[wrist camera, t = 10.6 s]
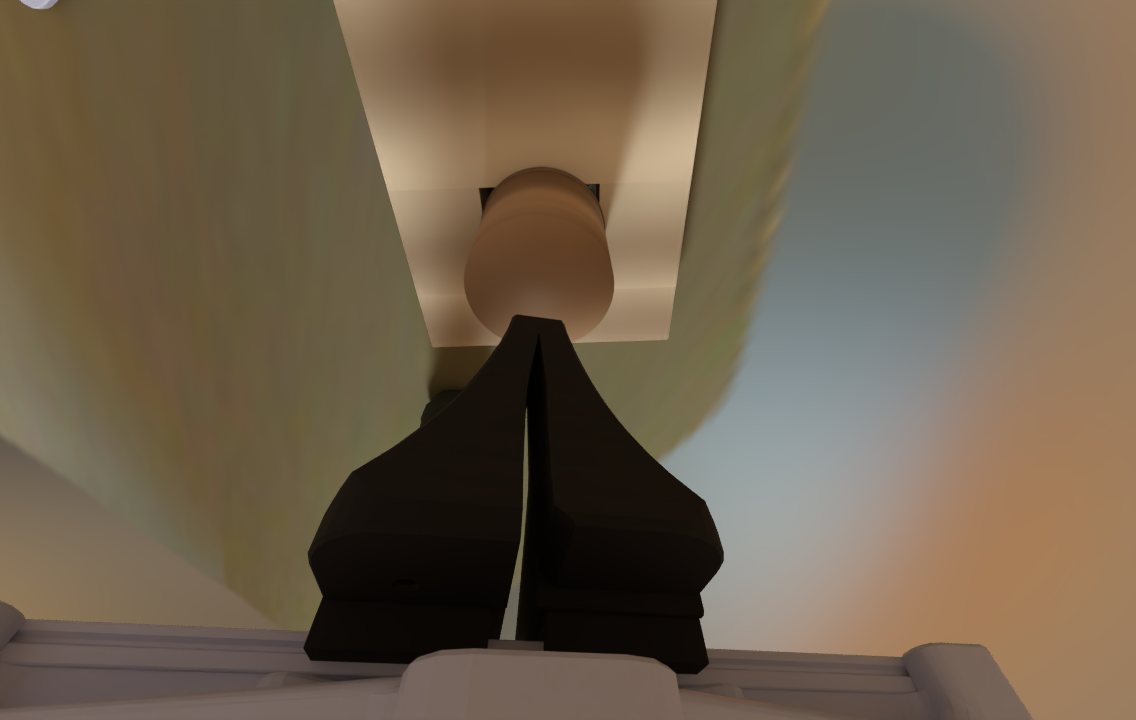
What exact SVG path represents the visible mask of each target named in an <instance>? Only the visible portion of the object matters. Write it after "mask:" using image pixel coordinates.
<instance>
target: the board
mask: <svg viewBox="0 0 1136 720" xmlns="http://www.w3.org/2000/svg"><path fill="white" fill-rule="evenodd" d="M333 1H334V4H335V8H336V11H337V15H338V18H339V22H340V25H341V29H342V32H343V36H344V39H345V43H346V46H347V50H348V53H349V57H350V60H351V64H352V67H353V71H354V74H355V78H356V81H357V85H358V88H359V92H360V95H361V99H362V102H363V106H364V109H365V113H366V116H367V120H368V123H369V127H370V130H371V134H372V137H373V141H374V144H375V148H376V151H377V155H378V158H379V162H380V165H381V169H382V172H383V176H384V179H385V183H386V186H387V190H388V193H389V197H390V200H391V204H392V207H393V211H394V214H395V218H396V221H397V225H398V228H399V232H400V235H401V239H402V242H403V246H404V249H405V253H406V256H407V260H408V263H409V267H410V270H411V274H412V277H413V281H414V284H415V288H416V291H417V295H418V298H419V302H420V305H421V309H422V312H423V316H424V319H425V323H426V326H427V330H428V333H429V337H430V340H431V344H432V347H458V346H488V345H498V344H499V343H500V341H501V339H502V338H500V337H498V336H497V335H495V334H494V333H492V332H491V331H490V330H488V329H487V328H486V327H485V326H484V325H483V324H482V323H481V322H480V321H479V320H478V318H477V317H476V316H475V314H474V313H473V311H472V309H471V307H470V305H469V303H468V300H467V298H466V294H465V289H464V271H465V267H466V263H467V260H468V257H469V254H470V251H471V248H472V245H473V242H474V239H475V237H476V234H477V231H478V228H479V225H480V222H481V217H482V213H483V209H484V206H485V204H486V202H487V199H488V197H489V196H490V194H491V192H492V187H496V186H497V185H498V184H499V183H500V182H501V181H503V180H504V179H505V178H507V177H508V176H510V175H511V174H514V173H516V172H518V171H521V170H524V169H527V168H533V167H550V168H555V169H559V170H562V171H565V172H568V173H570V174H572V175H573V176H575V177H577V178H578V179H580V180H581V181H582V182H584V183H585V184H594V195H595V197H596V198H597V200H598V202H599V204H600V206H601V209H602V212H603V216H604V221H605V233H606V238H607V243H608V249H609V254H610V259H611V264H612V269H613V274H614V294H613V299H612V302H611V305H610V308H609V310H608V311H607V313H606V315H605V317H604V318H603V319H602V321H601V322H600V323H599V324H598V325H597V326H596V328H594V329H593V330H592V331H591V332H590V333H588V334H587V335H585V336H584V337H582V338H580V339H578V340H576V341H574V342H572V343H581V342H612V341H643V340H668V336H669V329H670V323H671V316H672V309H673V302H674V295H675V288H676V281H677V274H678V267H679V261H680V254H681V247H682V240H683V233H684V226H685V219H686V212H687V205H688V199H689V192H690V185H691V178H692V171H693V164H694V157H695V150H696V143H697V136H698V130H699V123H700V116H701V109H702V102H703V95H704V88H705V81H706V74H707V68H708V61H709V54H710V47H711V40H712V33H713V26H714V19H715V12H716V5H717V0H333Z"/></svg>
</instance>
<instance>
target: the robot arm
mask: <svg viewBox="0 0 1136 720" xmlns="http://www.w3.org/2000/svg"><path fill="white" fill-rule="evenodd" d="M20 1H22V2H23V3H24V4H25V5H27V6H29V7H31V8H36V9H48V8H50V7H52V6H53V5H54V4H55V3H56V2H57V1H58V0H20ZM526 408H527V427H528V497H527V510H526V523H525V535H524V547H523V559H522V570H521V582H520V593H519V604H518V615H517V626H516V636H515V640H499V639H500V634H501V629H502V624H503V618H504V614H505V608H507V603H508V598H509V594H510V589H511V584H512V579H513V574H514V569H515V564H516V559H517V554H518V550H519V545H520V538H521V526H522V511H523V461H524V434H525V414H526ZM308 560H309V564H310V567H311V569H312V572H313V574H314V576H315V579H316V581H317V584H318V586H319V588H320V591H321V593H322V595H323V598H322V601H321V603H320V606H319V608H318V611H317V613H316V616H315V618H314V621H313V624H312V626H311V629H310V631H289V630H265V629H241V628H218V627H196V626H172V625H150V624H127V623H103V622H79V621H58V620H35V619H25V617H24V615H23V614H22V613H21V612H20V611H18V610H17V609H16V608H14V607H13V606H11V605H9V604H7V603H5V602H2V601H0V720H1033V718H1032V716H1031V715H1030V713H1029V712H1028V710H1027V709H1026V707H1025V706H1024V704H1023V703H1022V701H1021V700H1020V698H1019V697H1018V695H1017V694H1016V692H1015V691H1014V689H1013V687H1012V686H1011V684H1010V683H1009V681H1008V680H1007V678H1006V677H1005V675H1004V674H1003V672H1002V671H1001V669H1000V668H999V666H998V665H997V663H996V662H995V660H994V658H993V657H992V655H991V654H990V652H989V651H988V650H987V648H986V647H984V646H982V645H979V644H978V645H977V644H959V643H928V644H924V645H920V646H917V647H915V648H913V649H911V650H909V651H908V652H906V653H904V654H903V656H902V657H887V656H863V655H841V654H818V653H794V652H772V651H771V652H770V651H749V650H725V649H706V647H705V642H704V638H703V633H702V629H701V625H700V620H699V618H702V617H703V616H704V609H703V604H702V600H701V596H700V592H701V591H702V590H703V589H704V588H705V586H706V585H707V584H708V583H709V581H710V580H711V579H712V578H713V577H714V575H715V574H716V573H717V571H718V570H719V569H720V567H721V565H722V563H723V561H724V551H723V548H722V545H721V541H720V538H719V534H718V531H717V529H716V526H715V523H714V521H713V519H712V516H711V514H710V512H709V509H708V507H707V505H706V502H705V501H704V500H703V499H702V498H700V497H699V496H698V495H697V494H696V493H694V492H693V491H691V490H690V489H689V488H688V487H687V486H685V485H684V484H683V483H682V482H680V481H679V480H678V479H676V478H675V477H674V476H673V475H672V474H670V473H669V472H668V471H667V470H666V469H665V468H664V467H663V466H662V465H660V464H659V463H658V462H657V461H656V460H655V459H654V458H653V457H652V456H651V455H650V454H649V453H648V452H647V451H646V450H645V449H644V448H643V447H642V446H641V445H640V444H639V443H638V442H637V441H636V440H635V439H634V438H633V437H632V436H631V435H630V434H629V432H628V431H627V430H626V429H625V428H624V427H623V425H622V424H621V423H620V422H619V421H618V419H617V418H616V417H615V415H614V414H613V413H612V411H611V410H610V409H609V408H608V406H607V405H606V403H605V402H604V400H603V399H602V397H601V396H600V394H599V393H598V391H597V390H596V388H595V387H594V385H593V383H592V382H591V380H590V378H589V377H588V375H587V373H586V371H585V369H584V367H583V366H582V364H581V362H580V360H579V358H578V356H577V354H576V352H575V350H574V347H573V345H572V343H571V341H570V338H569V336H568V333H567V330H566V328H565V324H564V323H563V322H562V320H556V319H549V318H541V317H534V316H526V315H519V314H516V315H515V316H513V317H512V319H511V322H510V324H509V327H508V329H507V331H506V333H505V334H504V336H503V338H502V339H501V341H500V343H499V344H498V346H497V347H496V349H495V350H494V352H493V353H492V355H491V356H490V358H489V359H488V360H487V362H486V363H485V364H484V365H483V367H482V368H481V369H480V370H479V371H478V373H477V374H476V375H475V376H474V378H473V379H472V380H471V381H470V382H469V383H468V384H467V386H466V387H465V388H464V389H463V390H462V391H461V392H460V393H459V394H458V395H457V396H456V397H455V398H454V399H453V400H452V401H451V402H450V403H448V404H447V405H446V406H445V407H444V408H443V409H442V410H441V411H440V412H438V413H437V414H436V415H435V416H434V417H433V418H431V419H430V420H429V421H428V422H427V423H425V424H424V425H423V426H421V427H420V428H419V429H417V430H416V431H415V432H413V433H412V434H410V435H409V436H408V437H406V438H405V439H404V440H402V441H401V442H400V443H398V444H397V445H395V446H394V447H392V448H391V449H389V450H388V451H386V452H384V453H383V454H381V455H379V456H378V457H376V458H374V459H373V460H371V461H370V462H368V463H366V464H365V465H363V466H361V467H360V468H358V469H356V470H355V471H353V472H352V473H351V474H350V475H349V477H348V478H347V480H346V481H345V482H344V484H343V485H342V487H341V488H340V490H339V491H338V493H337V495H336V496H335V498H334V499H333V501H332V503H331V504H330V506H329V508H328V509H327V511H326V513H325V515H324V517H323V519H322V521H321V523H320V526H319V528H318V530H317V533H316V535H315V537H314V540H313V542H312V544H311V546H310V549H309V551H308Z"/></svg>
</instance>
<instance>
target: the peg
mask: <svg viewBox="0 0 1136 720" xmlns="http://www.w3.org/2000/svg"><path fill="white" fill-rule="evenodd" d="M464 289H465V294H466V298H467V300H468V303H469V305H470V307H471V309H472V311H473V313H474V314H475V316H476V317H477V318H478V320H479V321H480V322H481V323H482V324H483V325H484V326H485V327H486V328H487V329H488V330H490V331H491V332H492V333H494V334H495V335H497V336H498V337H500V338H503V336H504V334H505V333H506V331H507V329H508V327H509V324H510V322H511V319H512V317H513V316H515V315H516V314H519V315H526V316H534V317H541V318H549V319H556V320H562V322H563V323H564V324H565V328H566V330H567V333H568V336H569V338H570V341H571V343H572V342H574V341H576V340H578V339H580V338H582V337H584V336H585V335H587V334H588V333H590V332H591V331H592V330H593V329H594V328H596V326H597V325H598V324H599V323H600V322H601V321H602V319H603V318H604V317H605V315H606V313H607V311H608V310H609V308H610V305H611V302H612V299H613V294H614V274H613V269H612V264H611V259H610V254H609V249H608V243H607V238H606V233H605V221H604V216H603V212H602V209H601V206H600V204H599V202H598V200H597V198H596V197H595V195H594V194H593V192H592V191H591V190H590V188H589V187H588V186H587V185H586V184H585V183H584V182H582V181H581V180H580V179H578V178H577V177H575V176H573V175H572V174H570V173H568V172H565V171H562V170H559V169H555V168H550V167H533V168H527V169H524V170H521V171H518V172H516V173H514V174H511V175H510V176H508V177H507V178H505V179H504V180H503V181H501V182H500V183H499V184H498V185H497V186H496V187H495V189H494V190H493V191H492V192H491V194H490V196H489V197H488V199H487V202H486V204H485V206H484V209H483V213H482V217H481V222H480V225H479V228H478V231H477V234H476V237H475V239H474V242H473V245H472V248H471V251H470V254H469V257H468V260H467V263H466V267H465V271H464Z"/></svg>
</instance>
